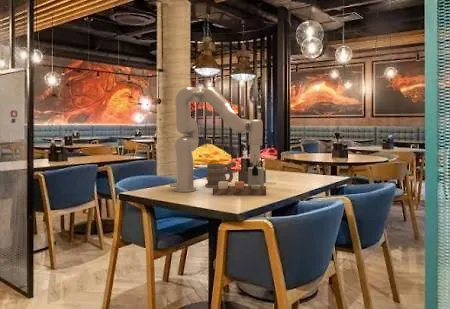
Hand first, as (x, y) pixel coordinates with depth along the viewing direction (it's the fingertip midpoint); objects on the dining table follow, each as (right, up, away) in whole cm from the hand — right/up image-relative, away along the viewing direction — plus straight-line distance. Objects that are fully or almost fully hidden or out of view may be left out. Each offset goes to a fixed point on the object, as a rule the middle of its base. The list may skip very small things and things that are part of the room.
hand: (255, 175), depth 225 cm
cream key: (-18, -8, +2) cm, 19 cm away
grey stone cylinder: (+2, -9, +19) cm, 21 cm away
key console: (-8, -10, +1) cm, 13 cm away
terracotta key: (-9, -8, +1) cm, 12 cm away
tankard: (-18, -8, +28) cm, 35 cm away
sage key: (0, -10, +1) cm, 10 cm away
